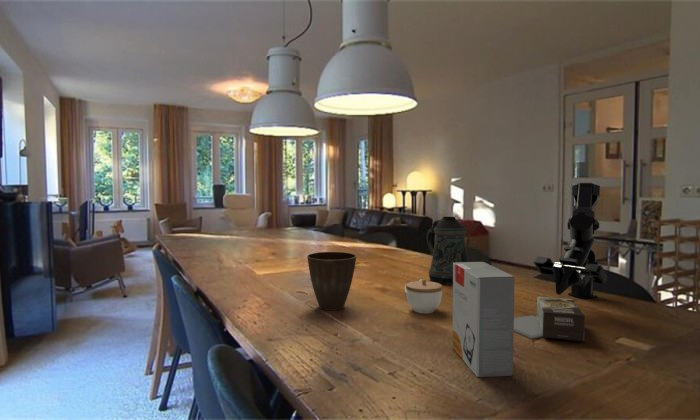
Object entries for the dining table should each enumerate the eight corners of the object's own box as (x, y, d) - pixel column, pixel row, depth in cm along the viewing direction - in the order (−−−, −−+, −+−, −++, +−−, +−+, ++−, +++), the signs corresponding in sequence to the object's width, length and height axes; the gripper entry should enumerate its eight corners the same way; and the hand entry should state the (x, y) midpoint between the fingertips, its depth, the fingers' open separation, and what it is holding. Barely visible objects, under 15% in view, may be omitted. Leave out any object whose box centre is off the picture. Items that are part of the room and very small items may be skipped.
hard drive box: (451, 348, 99) (451, 261, 98) (483, 347, 100) (484, 261, 99) (476, 378, 84) (477, 276, 83) (514, 376, 84) (516, 275, 83)
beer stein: (465, 287, 158) (466, 219, 157) (415, 282, 168) (415, 217, 167) (476, 279, 173) (477, 216, 171) (429, 274, 182) (429, 215, 181)
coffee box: (573, 298, 116) (586, 315, 101) (572, 322, 117) (585, 342, 101) (536, 295, 119) (543, 311, 104) (535, 318, 120) (542, 338, 104)
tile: (531, 316, 123) (531, 314, 123) (574, 331, 110) (574, 330, 110) (492, 322, 118) (492, 320, 118) (531, 339, 105) (531, 337, 105)
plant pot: (363, 303, 137) (363, 253, 136) (343, 316, 124) (343, 261, 123) (322, 298, 143) (322, 250, 142) (298, 310, 130) (297, 257, 129)
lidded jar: (419, 303, 137) (420, 274, 137) (449, 310, 129) (449, 279, 129) (398, 310, 130) (398, 279, 129) (428, 318, 122) (428, 285, 121)
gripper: (620, 272, 123) (602, 317, 118) (556, 262, 138) (537, 302, 133) (609, 247, 118) (588, 294, 112) (543, 240, 133) (522, 281, 127)
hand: (557, 293), depth 121 cm, fingers closed
